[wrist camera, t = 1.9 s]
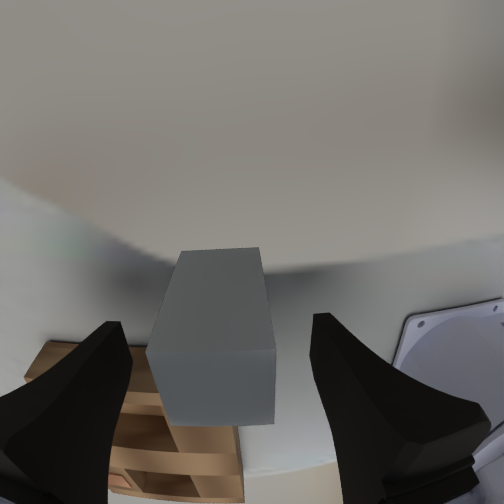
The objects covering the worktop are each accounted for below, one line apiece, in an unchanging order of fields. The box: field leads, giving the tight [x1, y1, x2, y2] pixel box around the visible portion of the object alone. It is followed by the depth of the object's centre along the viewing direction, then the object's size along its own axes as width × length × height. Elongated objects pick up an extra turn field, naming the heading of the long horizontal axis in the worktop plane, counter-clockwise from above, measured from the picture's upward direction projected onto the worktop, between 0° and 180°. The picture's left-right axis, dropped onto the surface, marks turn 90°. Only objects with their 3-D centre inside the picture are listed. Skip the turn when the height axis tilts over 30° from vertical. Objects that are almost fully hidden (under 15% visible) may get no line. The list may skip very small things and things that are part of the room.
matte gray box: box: [145, 247, 276, 426], centre depth 12 cm, size 4×4×7 cm
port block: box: [24, 341, 245, 503], centre depth 18 cm, size 12×16×4 cm
